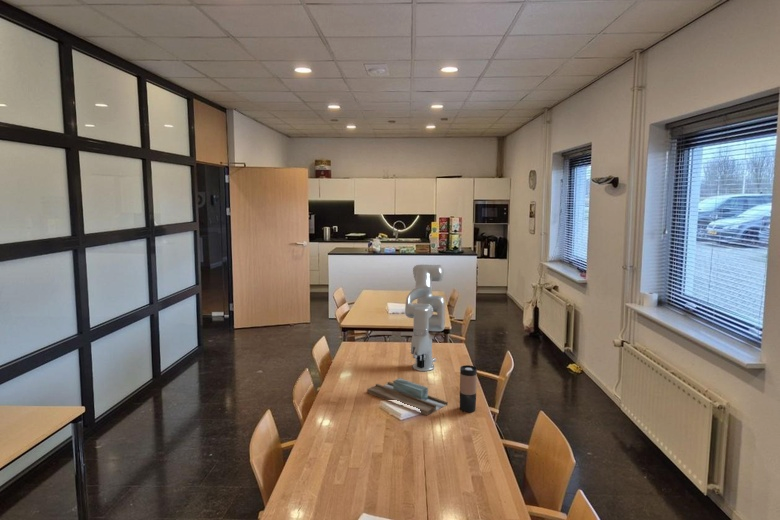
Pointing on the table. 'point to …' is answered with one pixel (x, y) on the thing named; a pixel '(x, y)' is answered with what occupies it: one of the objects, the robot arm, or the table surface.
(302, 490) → the table surface
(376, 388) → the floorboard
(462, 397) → the travel mug
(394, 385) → the teal rectangular block
